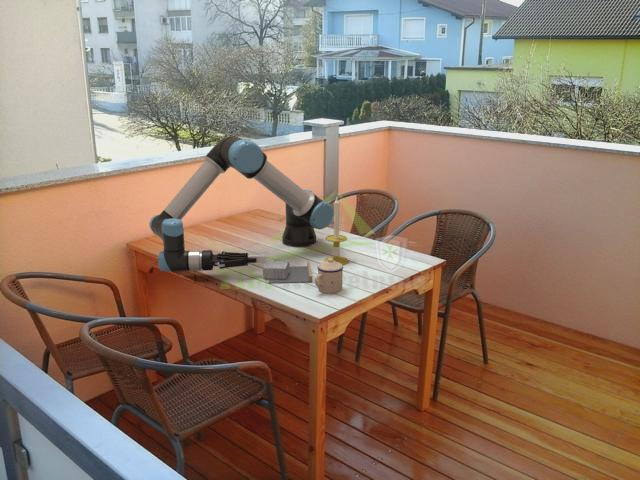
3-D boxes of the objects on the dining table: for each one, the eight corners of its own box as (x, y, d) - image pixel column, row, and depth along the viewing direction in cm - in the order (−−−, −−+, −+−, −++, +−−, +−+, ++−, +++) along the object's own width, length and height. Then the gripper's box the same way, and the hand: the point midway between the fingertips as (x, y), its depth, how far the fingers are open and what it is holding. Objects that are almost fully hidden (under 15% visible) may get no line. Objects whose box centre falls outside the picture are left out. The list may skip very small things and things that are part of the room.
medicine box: (263, 278, 220) (286, 279, 219) (262, 267, 218) (285, 268, 217) (267, 271, 227) (289, 272, 226) (266, 260, 226) (289, 261, 225)
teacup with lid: (329, 282, 217) (330, 252, 214) (348, 289, 211) (348, 258, 207) (306, 291, 209) (306, 260, 205) (324, 299, 203) (324, 267, 199)
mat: (309, 267, 232) (309, 261, 232) (312, 282, 217) (312, 276, 217) (269, 268, 231) (268, 262, 231) (268, 283, 216) (268, 277, 216)
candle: (344, 266, 233) (345, 200, 224) (320, 263, 236) (320, 198, 228) (351, 258, 242) (353, 194, 233) (328, 255, 245) (329, 192, 237)
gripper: (204, 263, 227) (266, 262, 229) (200, 276, 215) (265, 274, 216) (203, 245, 225) (265, 243, 226) (199, 256, 212) (264, 255, 214)
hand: (265, 258), depth 221 cm, fingers closed
